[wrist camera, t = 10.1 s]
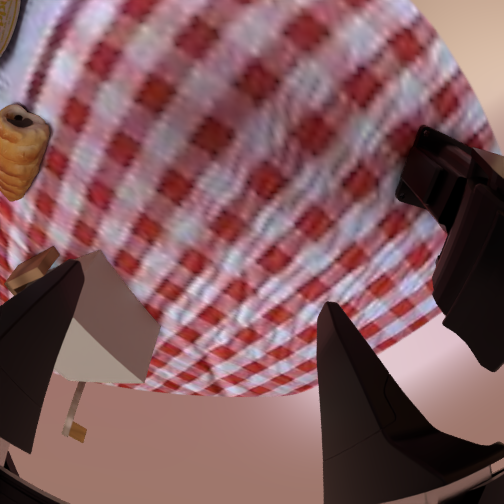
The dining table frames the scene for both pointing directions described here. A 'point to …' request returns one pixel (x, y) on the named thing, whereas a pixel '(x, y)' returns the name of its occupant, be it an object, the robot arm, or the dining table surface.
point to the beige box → (106, 329)
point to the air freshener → (7, 21)
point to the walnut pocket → (16, 284)
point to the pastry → (20, 149)
